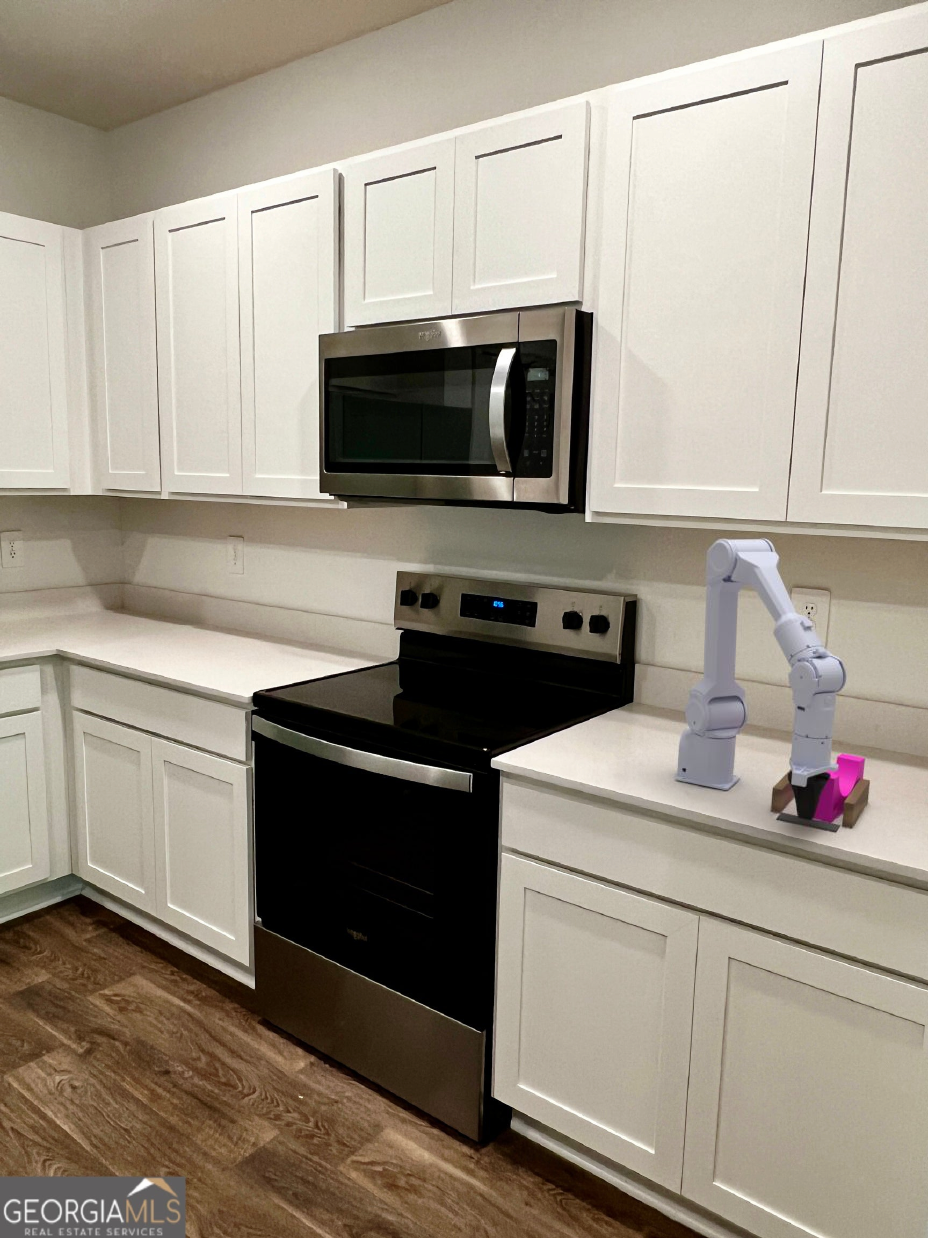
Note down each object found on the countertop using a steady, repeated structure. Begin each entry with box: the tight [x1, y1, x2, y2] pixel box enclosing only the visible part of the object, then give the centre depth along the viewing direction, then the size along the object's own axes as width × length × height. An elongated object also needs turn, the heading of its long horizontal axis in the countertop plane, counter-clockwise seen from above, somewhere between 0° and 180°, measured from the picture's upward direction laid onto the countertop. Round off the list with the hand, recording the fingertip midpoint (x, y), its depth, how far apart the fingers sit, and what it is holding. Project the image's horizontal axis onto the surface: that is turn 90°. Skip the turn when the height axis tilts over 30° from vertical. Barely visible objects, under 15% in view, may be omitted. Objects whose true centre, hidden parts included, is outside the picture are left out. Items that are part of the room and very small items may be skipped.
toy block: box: [813, 753, 866, 823], centre depth 151 cm, size 15×6×8 cm, turn 139°
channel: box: [770, 768, 871, 829], centre depth 150 cm, size 12×14×4 cm
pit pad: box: [776, 811, 841, 833], centre depth 143 cm, size 9×3×1 cm, turn 57°
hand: (805, 818), depth 141 cm, fingers closed
